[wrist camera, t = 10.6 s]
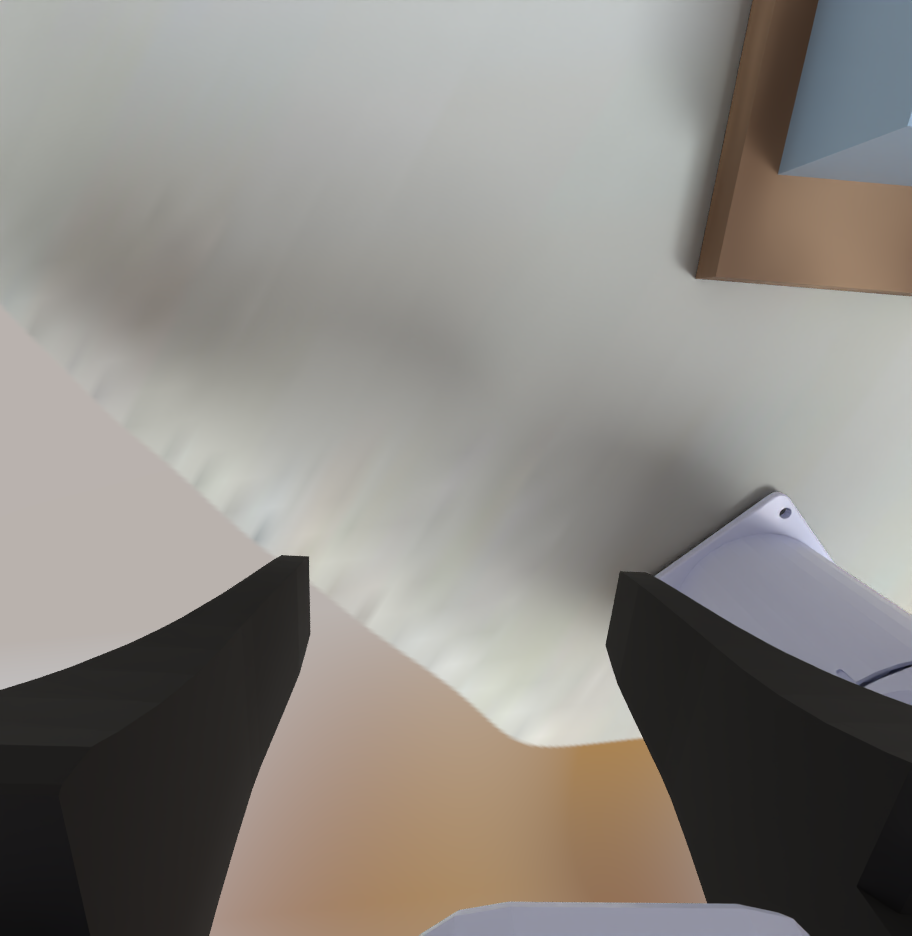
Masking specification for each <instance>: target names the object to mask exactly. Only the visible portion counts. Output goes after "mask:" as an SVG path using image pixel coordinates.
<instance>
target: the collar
mask: <svg viewBox="0 0 912 936" xmlns="http://www.w3.org/2000/svg"><path fill="white" fill-rule="evenodd" d="M778 175H789V176H800V177H812V178H823V179H834V180H846V181H857V182H869V183H880V184H891V185H903V186H912V0H819V1H818V5H817V9H816V14H815V18H814V22H813V27H812V31H811V35H810V39H809V44H808V48H807V52H806V56H805V61H804V65H803V69H802V74H801V78H800V82H799V86H798V91H797V95H796V99H795V103H794V108H793V112H792V116H791V120H790V125H789V129H788V133H787V138H786V142H785V146H784V150H783V155H782V159H781V163H780V167H779V172H778Z"/></svg>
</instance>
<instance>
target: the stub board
mask: <svg viewBox="0 0 912 936" xmlns="http://www.w3.org/2000/svg"><path fill="white" fill-rule="evenodd" d="M818 1H819V0H753V1H752V6H751V11H750V16H749V21H748V25H747V30H746V35H745V40H744V45H743V50H742V55H741V59H740V64H739V69H738V74H737V79H736V84H735V89H734V93H733V98H732V103H731V108H730V113H729V118H728V123H727V127H726V132H725V137H724V142H723V147H722V152H721V157H720V161H719V166H718V171H717V176H716V181H715V186H714V191H713V195H712V200H711V205H710V210H709V215H708V220H707V225H706V230H705V234H704V239H703V244H702V249H701V254H700V259H699V264H698V268H697V273H696V279H708V280H720V281H732V282H744V283H756V284H769V285H781V286H793V287H805V288H817V289H830V290H842V291H854V292H866V293H878V294H890V295H903V296H912V186H903V185H891V184H880V183H869V182H857V181H846V180H834V179H823V178H812V177H800V176H789V175H778V172H779V167H780V163H781V159H782V155H783V150H784V146H785V142H786V138H787V133H788V129H789V125H790V120H791V116H792V112H793V108H794V103H795V99H796V95H797V91H798V86H799V82H800V78H801V74H802V69H803V65H804V61H805V56H806V52H807V48H808V44H809V39H810V35H811V31H812V27H813V22H814V18H815V14H816V9H817V5H818Z"/></svg>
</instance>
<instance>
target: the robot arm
mask: <svg viewBox="0 0 912 936" xmlns="http://www.w3.org/2000/svg"><path fill="white" fill-rule="evenodd" d="M784 508H786V510H785V512H784V513H783V514H781V515H779V514H780V511H781V510H782V509H784ZM309 596H310V593H309V557H307V556H286V555H281V556H279V557H278V558H276V559H274V560H273V561H271V562H270V563H268V564H267V565H265V566H263V567H262V568H261V569H259V570H258V571H256V572H255V573H253V574H252V575H250V576H249V577H247V578H246V579H244V580H243V581H241V582H239V583H238V584H236V585H235V586H233V587H232V588H230V589H229V590H227V591H226V592H224V593H223V594H221V595H219V596H218V597H216V598H214V599H213V600H211V601H209V602H207V603H206V604H204V605H202V606H201V607H199V608H197V609H196V610H194V611H192V612H190V613H189V614H187V615H185V616H184V617H182V618H180V619H178V620H176V621H174V622H173V623H171V624H169V625H167V626H165V627H163V628H161V629H159V630H157V631H155V632H153V633H150V634H149V635H146V636H144V637H142V638H140V639H138V640H136V641H134V642H131V643H129V644H127V645H125V646H122V647H120V648H117V649H115V650H112V651H110V652H107V653H105V654H102V655H100V656H97V657H95V658H92V659H90V660H87V661H85V662H83V663H80V664H77V665H75V666H72V667H69V668H67V669H64V670H61V671H58V672H55V673H52V674H49V675H46V676H43V677H41V678H38V679H35V680H31V681H28V682H25V683H22V684H18V685H15V686H12V687H9V688H6V689H3V690H0V936H209V934H210V930H211V927H212V923H213V919H214V915H215V912H216V908H217V905H218V901H219V898H220V894H221V891H222V887H223V884H224V880H225V877H226V874H227V871H228V867H229V864H230V860H231V857H232V854H233V850H234V847H235V843H236V840H237V836H238V833H239V830H240V827H241V824H242V820H243V817H244V814H245V811H246V808H247V804H248V801H249V798H250V795H251V791H252V788H253V786H254V783H255V780H256V778H257V775H258V772H259V769H260V767H261V764H262V762H263V760H264V757H265V755H266V753H267V750H268V748H269V746H270V743H271V741H272V738H273V736H274V734H275V731H276V729H277V726H278V724H279V722H280V719H281V717H282V715H283V712H284V710H285V707H286V705H287V703H288V700H289V698H290V695H291V693H292V690H293V688H294V686H295V683H296V681H297V678H298V676H299V673H300V670H301V666H302V662H303V659H304V655H305V652H306V648H307V644H308V640H309V636H310V597H309ZM606 648H607V652H608V655H609V658H610V662H611V665H612V668H613V671H614V674H615V677H616V680H617V683H618V686H619V688H620V690H621V692H622V695H623V697H624V699H625V701H626V703H627V705H628V708H629V710H630V712H631V714H632V716H633V718H634V720H635V722H636V724H637V727H638V729H639V731H640V733H641V735H642V737H643V739H644V741H645V743H646V745H647V747H648V749H649V752H650V754H651V756H652V758H653V760H654V762H655V764H656V766H657V768H658V770H659V772H660V774H661V777H662V779H663V781H664V784H665V786H666V788H667V791H668V793H669V795H670V797H671V800H672V803H673V806H674V809H675V811H676V814H677V817H678V820H679V822H680V825H681V828H682V831H683V833H684V836H685V839H686V842H687V845H688V847H689V850H690V853H691V856H692V859H693V862H694V865H695V868H696V871H697V874H698V877H699V880H700V883H701V886H702V889H703V892H704V895H705V898H706V901H707V904H703V903H585V902H579V903H577V902H505V903H498V904H492V905H487V906H481V907H475V908H469V909H463V910H458V911H457V912H455V913H453V914H452V915H450V916H449V917H447V918H446V919H444V920H442V921H441V922H439V923H438V924H436V925H434V926H433V927H431V928H429V929H428V930H426V931H425V932H423V933H422V934H420V935H419V936H912V615H911V614H910V613H908V612H907V611H905V610H904V609H902V608H901V607H899V606H898V605H896V604H895V603H893V602H892V601H890V600H889V599H887V598H886V597H884V596H883V595H881V594H880V593H878V592H877V591H875V590H874V589H872V588H871V587H869V586H868V585H866V584H864V583H863V582H861V581H860V580H858V579H857V578H855V577H854V576H852V575H851V574H849V573H848V572H846V571H845V570H843V569H842V568H840V567H839V566H837V565H836V564H835V563H834V561H833V560H832V558H831V557H830V556H829V554H828V553H827V551H826V550H825V548H824V547H823V545H822V544H821V543H820V541H819V540H818V538H817V537H816V535H815V534H814V533H813V531H812V530H811V528H810V527H809V525H808V524H807V522H806V521H805V520H804V518H803V517H802V515H801V514H800V512H799V511H798V510H797V508H796V507H795V505H794V504H793V502H792V501H791V499H790V498H789V497H788V496H787V495H785V494H783V493H781V492H773V493H771V494H769V495H768V496H766V497H765V498H763V499H762V500H761V501H759V502H758V503H756V504H755V505H754V506H752V507H751V508H749V509H748V510H747V511H745V512H744V513H742V514H741V515H740V516H738V517H737V518H735V519H734V520H733V521H731V522H730V523H728V524H727V525H726V526H724V527H723V528H721V529H720V530H719V531H717V532H716V533H714V534H713V535H712V536H710V537H709V538H707V539H706V540H704V541H703V542H702V543H700V544H699V545H697V546H696V547H695V548H693V549H692V550H690V551H689V552H688V553H686V554H685V555H683V556H682V557H681V558H679V559H678V560H676V561H675V562H674V563H672V564H671V565H669V566H668V567H667V568H665V569H664V570H662V571H661V572H660V573H658V574H657V575H655V576H652V575H650V574H648V573H644V572H623V571H620V574H619V579H618V584H617V590H616V595H615V600H614V605H613V610H612V615H611V620H610V625H609V630H608V635H607V640H606Z"/></svg>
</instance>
